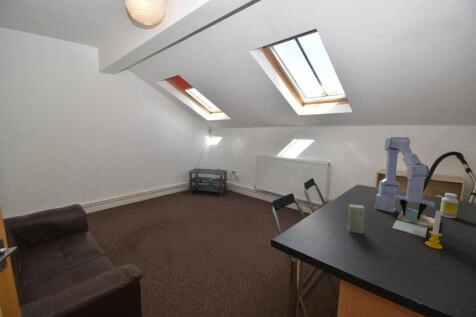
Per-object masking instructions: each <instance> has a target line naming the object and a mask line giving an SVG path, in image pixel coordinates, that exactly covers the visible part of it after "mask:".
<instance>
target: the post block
mask: <svg viewBox="0 0 476 317" xmlns="http://www.w3.org/2000/svg"><path fill="white" fill-rule="evenodd" d="M396 220H398V221H402V222H406V223H410V224H414V225H418V226H422V227H425V228H427V229H431V230H433V227H434V221H435V217H434V218H433V217H429V216H427V215H425V214H421V215H420V218H419V220H418V219H417V222H415V221H410V220H406V219H405V216H403V210H401V211H400V213H399V214H398V216H397V218H396Z"/></svg>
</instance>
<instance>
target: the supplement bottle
mask: <svg viewBox="0 0 476 317" xmlns="http://www.w3.org/2000/svg"><path fill="white" fill-rule="evenodd" d="M457 197H458V194H455V193H452V192H451V193H450V192H445V193H444V197H441V202H440V209H439V211H441V217H445V218H448V219H455V218H457V214H458V209H459V208H458V207H459V200H458V199H457Z"/></svg>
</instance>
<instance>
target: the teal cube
mask: <svg viewBox="0 0 476 317" xmlns="http://www.w3.org/2000/svg"><path fill="white" fill-rule="evenodd" d="M418 212H419V209H415V208H414V209H413V208H408V207H406V212H405V219H406V220H410V221H415V222H417V216H418Z"/></svg>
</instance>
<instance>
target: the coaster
mask: <svg viewBox="0 0 476 317" xmlns="http://www.w3.org/2000/svg"><path fill="white" fill-rule="evenodd" d="M391 229H392V230H395V231H399V232H403V233H406V234H410V235H414V236H417V237H421V238H424V239H425V238H426V237H427V231H428V228H426V227H422V226H418V225H414V224H410V223H407V222H403V221H399V220H397V219H396V220H395V221H394V224H393V226H392V228H391Z"/></svg>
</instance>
